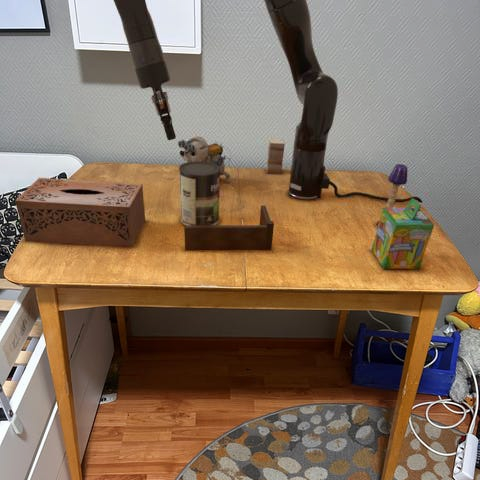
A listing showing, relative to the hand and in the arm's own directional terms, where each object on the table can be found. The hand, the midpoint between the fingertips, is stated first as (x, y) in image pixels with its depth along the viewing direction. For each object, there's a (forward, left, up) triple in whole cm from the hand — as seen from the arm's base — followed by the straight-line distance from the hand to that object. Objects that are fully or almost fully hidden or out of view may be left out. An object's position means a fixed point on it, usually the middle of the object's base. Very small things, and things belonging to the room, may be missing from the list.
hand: (172, 139), depth 118 cm
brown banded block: (-33, -31, -19) cm, 49 cm away
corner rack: (-13, +18, -19) cm, 29 cm away
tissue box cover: (+21, +13, -19) cm, 31 cm away
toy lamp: (-57, +11, -19) cm, 61 cm away
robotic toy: (-9, -19, -19) cm, 28 cm away
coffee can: (-7, +7, -19) cm, 21 cm away
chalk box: (-53, +29, -19) cm, 63 cm away
